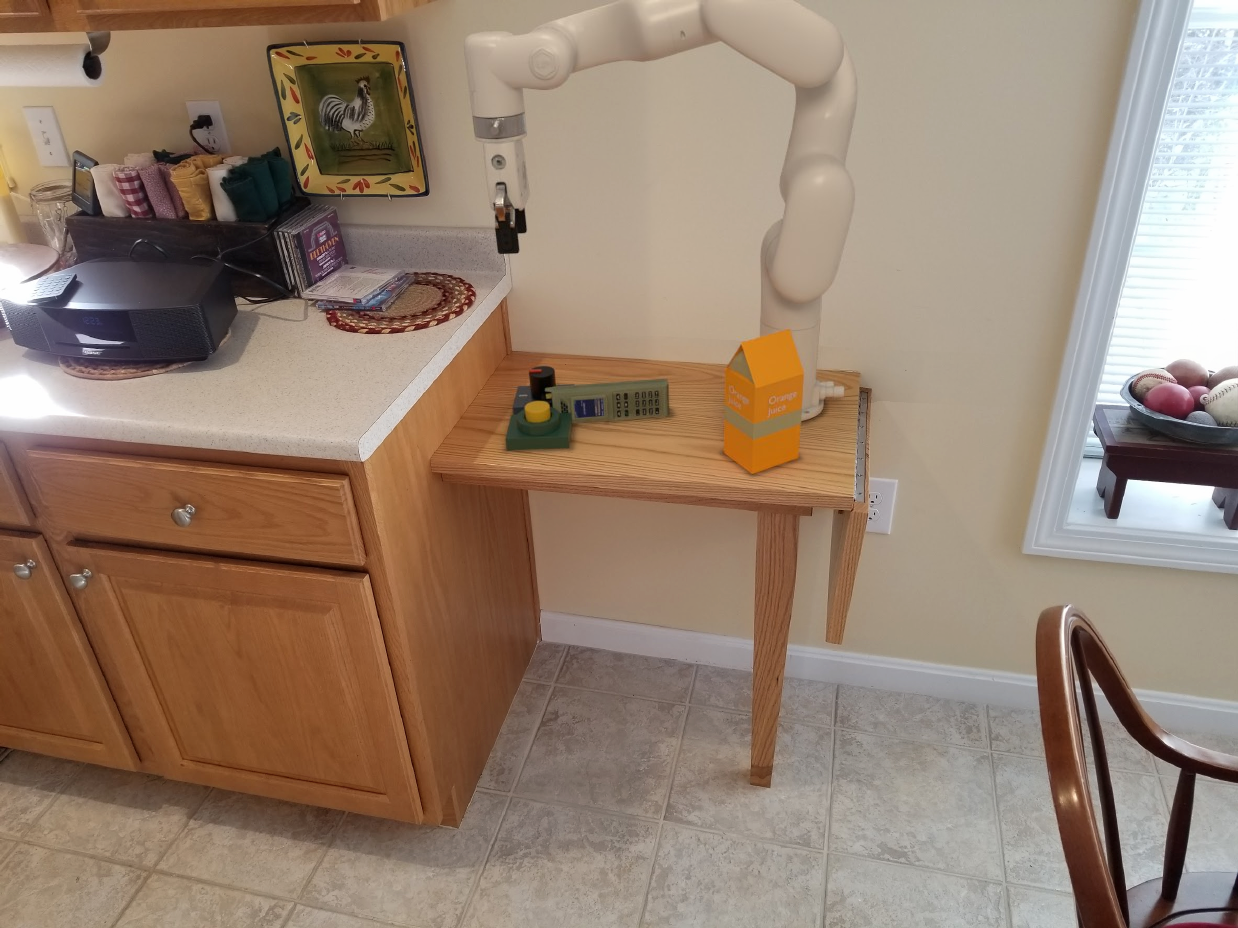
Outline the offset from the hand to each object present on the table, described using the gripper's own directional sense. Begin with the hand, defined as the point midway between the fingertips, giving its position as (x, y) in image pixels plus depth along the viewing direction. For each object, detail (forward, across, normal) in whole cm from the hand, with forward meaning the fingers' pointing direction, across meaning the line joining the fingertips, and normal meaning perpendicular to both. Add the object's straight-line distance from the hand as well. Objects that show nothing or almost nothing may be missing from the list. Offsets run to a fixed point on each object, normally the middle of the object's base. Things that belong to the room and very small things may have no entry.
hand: (513, 243), depth 140 cm
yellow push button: (+26, -8, -2) cm, 28 cm away
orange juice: (+30, -16, -37) cm, 50 cm away
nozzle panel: (+30, +2, -2) cm, 30 cm away
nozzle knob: (+27, +2, -2) cm, 28 cm away
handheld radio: (+31, -2, -11) cm, 33 cm away
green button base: (+30, -8, -2) cm, 31 cm away
